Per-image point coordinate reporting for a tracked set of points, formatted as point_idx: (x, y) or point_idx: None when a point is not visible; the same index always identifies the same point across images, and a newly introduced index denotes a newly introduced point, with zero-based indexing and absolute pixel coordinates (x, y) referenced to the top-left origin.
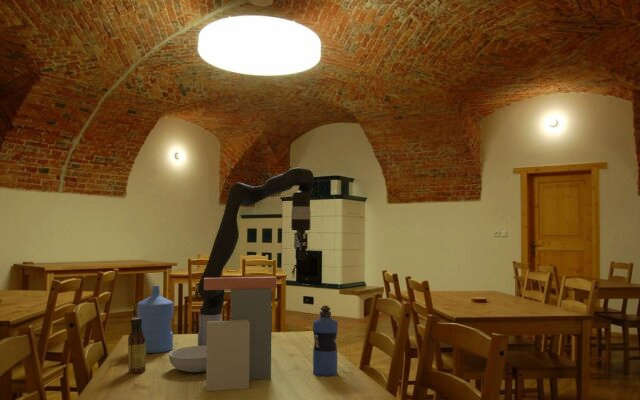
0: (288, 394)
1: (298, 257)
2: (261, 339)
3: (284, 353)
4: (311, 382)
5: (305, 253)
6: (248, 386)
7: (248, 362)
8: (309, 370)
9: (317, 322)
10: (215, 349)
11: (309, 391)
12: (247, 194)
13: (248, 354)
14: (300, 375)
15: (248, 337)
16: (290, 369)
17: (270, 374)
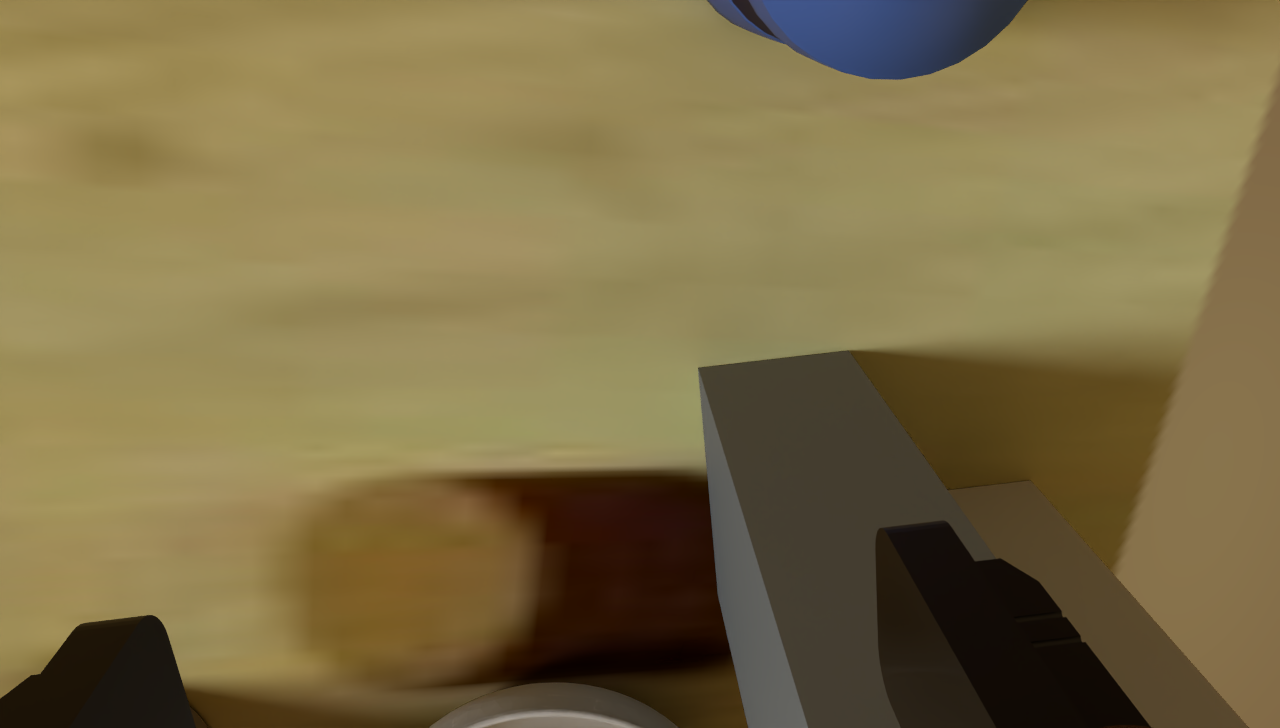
0: (1217, 257)
1: (167, 716)
2: None
3: (76, 215)
4: (1002, 78)
5: (1032, 656)
6: (1034, 488)
7: (1101, 566)
8: (675, 54)
9: (973, 33)
10: None
11: (1200, 117)
12: None
13: (1128, 597)
14: (806, 140)
15: (1195, 676)
16: (626, 202)
17: (854, 363)
